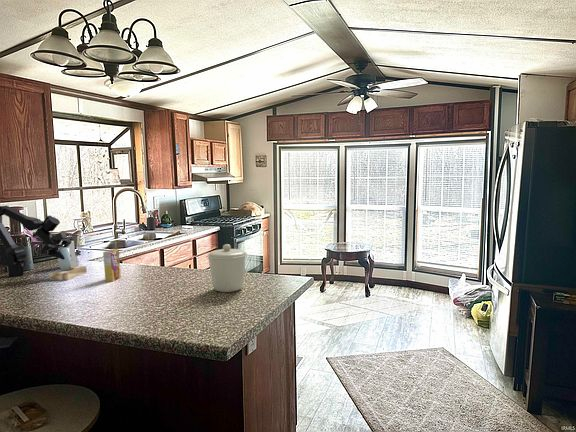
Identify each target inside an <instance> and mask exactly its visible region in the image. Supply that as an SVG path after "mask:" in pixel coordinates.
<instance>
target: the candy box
mask: <svg viewBox="0 0 576 432" xmlns="http://www.w3.org/2000/svg"><path fill="white" fill-rule="evenodd" d="M102 253H103V254H102V256H103V257H102V258H103V266H104V267H103V268H104V278H105V279H104V280H105V282H108V283H109V282H111V283H112V282H115V281H117V280H119V279H120V278H122V274H121V273H122V272H121V262H120V251H119V248H111V249H108V250H105V251H103V252H102Z"/></svg>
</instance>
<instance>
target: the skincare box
mask: <svg viewBox="0 0 576 432" xmlns="http://www.w3.org/2000/svg"><path fill="white" fill-rule="evenodd" d="M62 241H63V240H62ZM62 241H61V242H62ZM71 241H72V243H71V244H70V245H69V246H68V247H70V254H71V257H70V258H71V266H77V259H76V250H75V249H76V248H75V240H71ZM61 242H60V243H61ZM58 250H59V249H58ZM57 262H58V268H60V258H57Z"/></svg>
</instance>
